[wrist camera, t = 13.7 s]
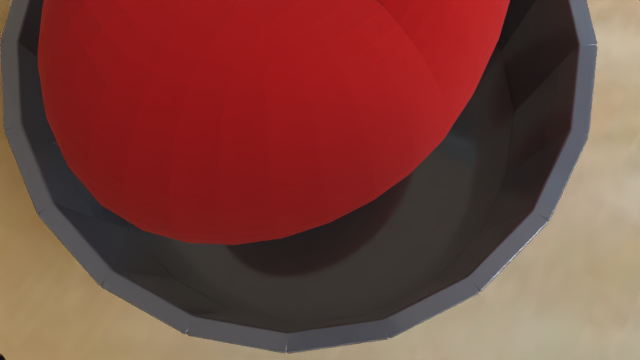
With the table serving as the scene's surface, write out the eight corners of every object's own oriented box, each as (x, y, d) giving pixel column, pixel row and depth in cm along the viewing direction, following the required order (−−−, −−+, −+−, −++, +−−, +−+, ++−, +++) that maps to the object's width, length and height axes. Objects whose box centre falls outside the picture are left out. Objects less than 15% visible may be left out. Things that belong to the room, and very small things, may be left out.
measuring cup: (610, 118, 18) (721, 45, 13) (299, 434, 16) (282, 495, 11) (228, -222, 20) (192, -398, 15) (-70, 24, 19) (-221, -79, 14)
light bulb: (315, -67, 18) (292, -482, 9) (505, 69, 18) (721, -226, 8) (107, 168, 17) (-194, -6, 7) (300, 329, 16) (245, 373, 6)
